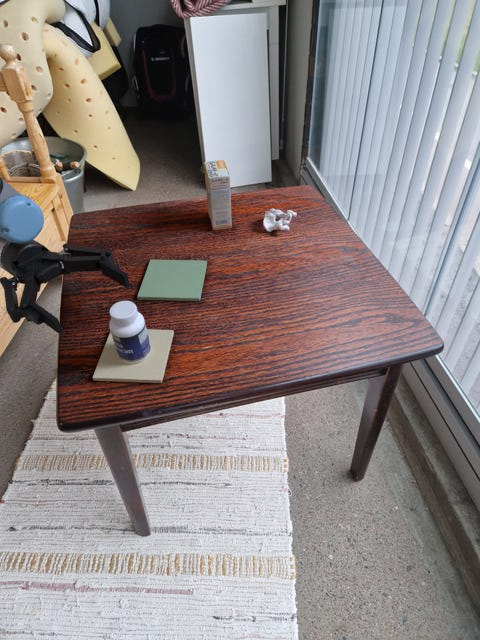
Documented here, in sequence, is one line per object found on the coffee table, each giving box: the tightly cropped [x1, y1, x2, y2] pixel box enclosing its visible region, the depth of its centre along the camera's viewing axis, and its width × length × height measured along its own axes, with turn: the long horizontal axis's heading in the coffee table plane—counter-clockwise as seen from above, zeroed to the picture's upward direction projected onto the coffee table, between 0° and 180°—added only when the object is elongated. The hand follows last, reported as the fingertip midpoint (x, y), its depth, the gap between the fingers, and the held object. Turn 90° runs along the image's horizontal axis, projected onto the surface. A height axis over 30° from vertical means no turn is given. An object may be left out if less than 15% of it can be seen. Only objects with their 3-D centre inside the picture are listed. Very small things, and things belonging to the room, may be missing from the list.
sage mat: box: [136, 259, 208, 302], centre depth 84 cm, size 12×12×1 cm
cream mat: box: [92, 328, 175, 384], centre depth 70 cm, size 11×11×1 cm
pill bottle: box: [108, 300, 151, 364], centre depth 66 cm, size 5×5×10 cm
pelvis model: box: [262, 207, 298, 233], centre depth 97 cm, size 8×4×7 cm
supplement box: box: [203, 159, 233, 231], centre depth 96 cm, size 8×5×13 cm, turn 11°
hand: (94, 302), depth 67 cm, fingers open, 13 cm apart
